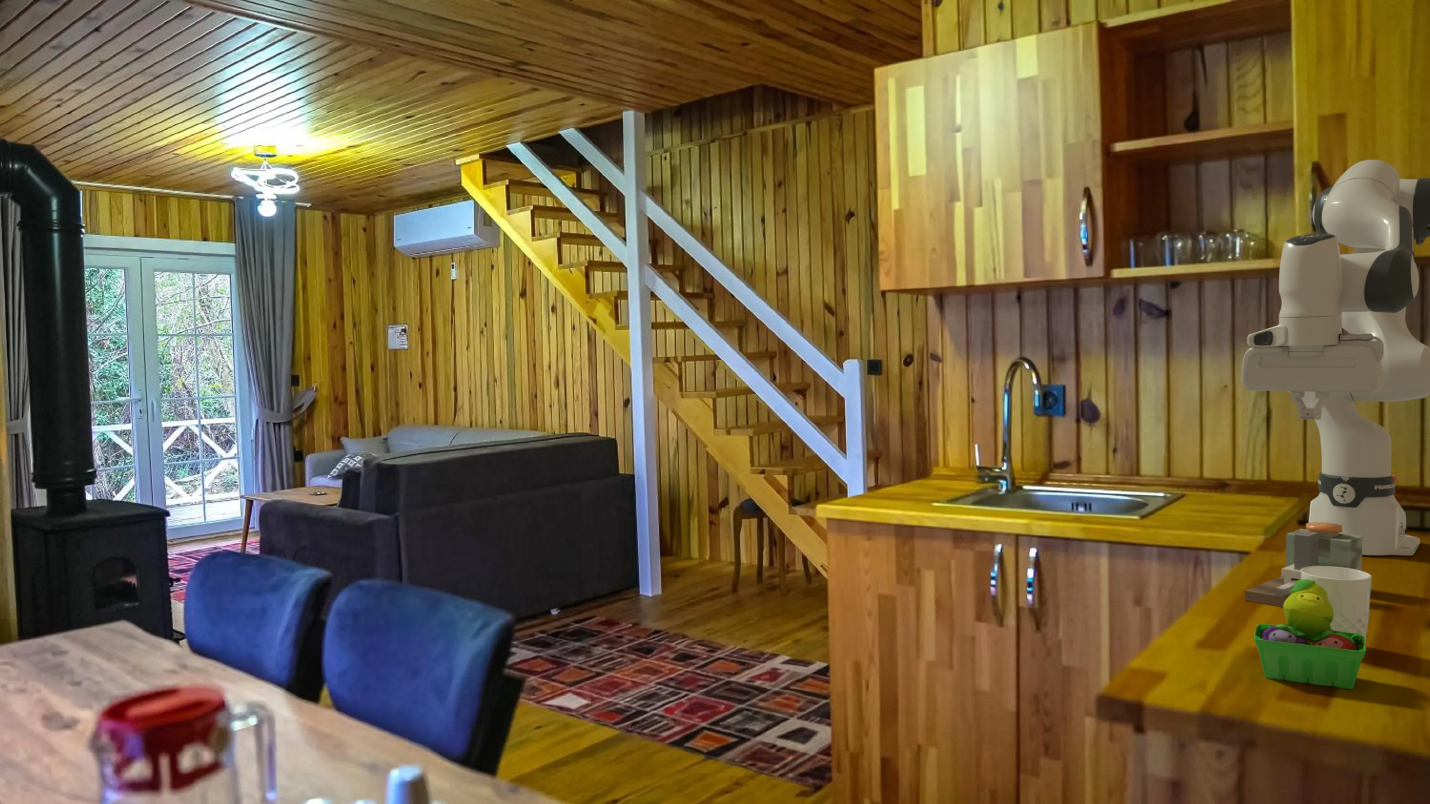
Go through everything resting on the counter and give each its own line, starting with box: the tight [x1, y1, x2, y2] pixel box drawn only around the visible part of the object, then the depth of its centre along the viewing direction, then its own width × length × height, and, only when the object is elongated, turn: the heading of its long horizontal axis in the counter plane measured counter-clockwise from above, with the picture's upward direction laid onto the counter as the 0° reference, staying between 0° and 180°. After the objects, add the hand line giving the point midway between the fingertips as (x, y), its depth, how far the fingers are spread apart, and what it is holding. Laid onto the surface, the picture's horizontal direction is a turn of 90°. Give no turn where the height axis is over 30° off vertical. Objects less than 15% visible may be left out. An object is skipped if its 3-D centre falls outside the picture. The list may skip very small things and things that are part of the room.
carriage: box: [1280, 531, 1319, 584], centre depth 157 cm, size 6×5×8 cm
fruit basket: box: [1253, 579, 1367, 690], centre depth 121 cm, size 11×9×11 cm
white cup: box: [1301, 566, 1372, 643], centre depth 131 cm, size 8×8×10 cm
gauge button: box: [1305, 522, 1342, 538], centre depth 162 cm, size 5×5×4 cm
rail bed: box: [1244, 528, 1363, 607], centre depth 157 cm, size 20×10×8 cm, turn 129°
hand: (1309, 419), depth 164 cm, fingers closed
